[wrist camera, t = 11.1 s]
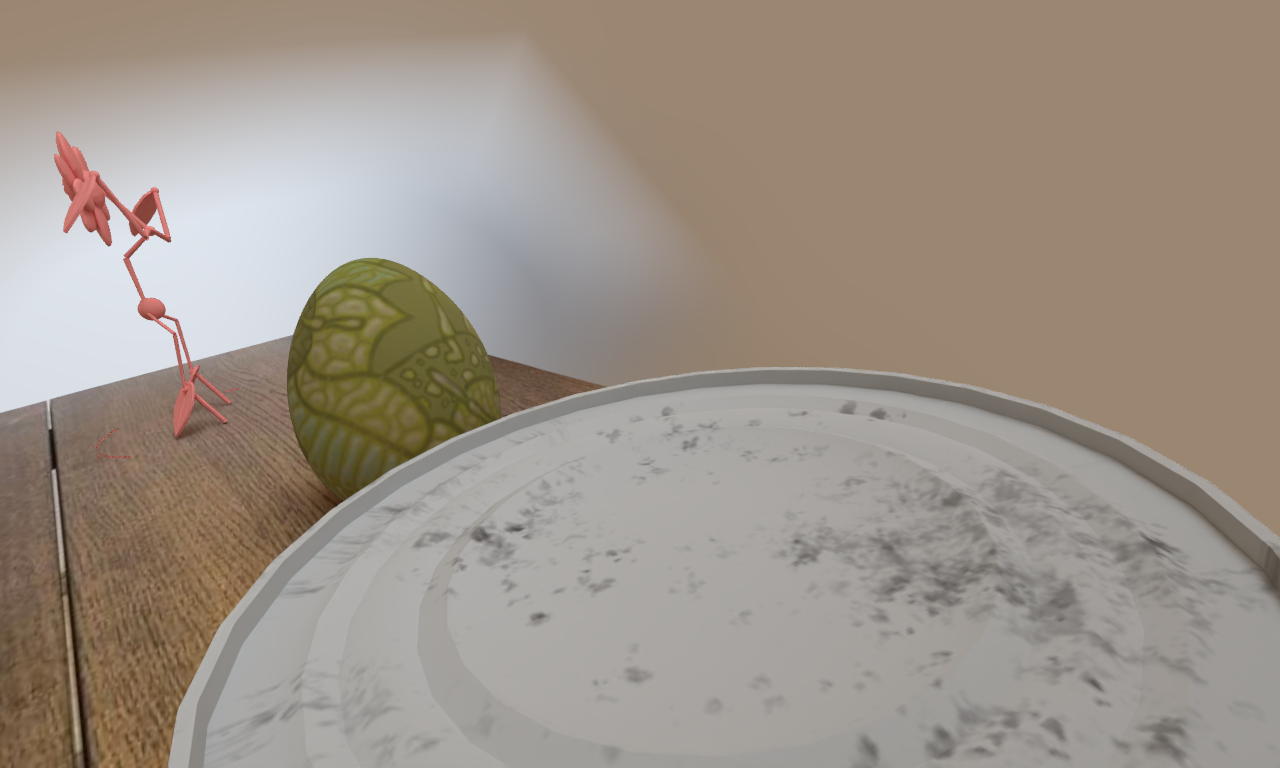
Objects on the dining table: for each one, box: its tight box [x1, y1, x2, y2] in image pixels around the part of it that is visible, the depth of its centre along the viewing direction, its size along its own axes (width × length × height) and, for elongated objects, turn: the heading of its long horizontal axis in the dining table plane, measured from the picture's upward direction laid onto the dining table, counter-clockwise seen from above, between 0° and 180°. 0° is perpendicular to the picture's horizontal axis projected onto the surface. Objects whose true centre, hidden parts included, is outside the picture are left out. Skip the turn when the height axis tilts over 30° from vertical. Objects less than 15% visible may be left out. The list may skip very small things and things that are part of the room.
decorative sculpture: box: [287, 258, 501, 501], centre depth 56 cm, size 16×16×20 cm
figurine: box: [54, 132, 238, 458], centre depth 79 cm, size 15×26×35 cm, turn 28°
